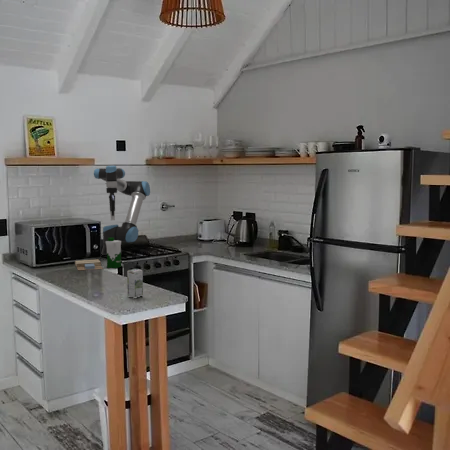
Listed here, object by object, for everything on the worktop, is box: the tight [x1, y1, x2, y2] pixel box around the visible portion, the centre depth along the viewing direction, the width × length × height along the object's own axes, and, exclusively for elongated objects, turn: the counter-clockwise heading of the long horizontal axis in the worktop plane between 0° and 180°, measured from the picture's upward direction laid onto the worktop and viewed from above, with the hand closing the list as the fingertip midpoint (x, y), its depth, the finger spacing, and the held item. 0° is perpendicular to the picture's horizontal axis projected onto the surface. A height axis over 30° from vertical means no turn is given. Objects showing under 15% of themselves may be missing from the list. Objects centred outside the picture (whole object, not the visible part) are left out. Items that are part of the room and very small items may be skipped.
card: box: [85, 264, 95, 269], centre depth 364 cm, size 9×6×2 cm, turn 19°
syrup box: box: [126, 268, 144, 297], centre depth 283 cm, size 6×6×14 cm
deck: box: [74, 258, 102, 268], centre depth 374 cm, size 12×16×3 cm
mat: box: [76, 265, 104, 272], centre depth 364 cm, size 10×16×1 cm, turn 110°
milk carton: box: [106, 238, 122, 269], centre depth 367 cm, size 9×9×20 cm
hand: (112, 220), depth 391 cm, fingers closed
